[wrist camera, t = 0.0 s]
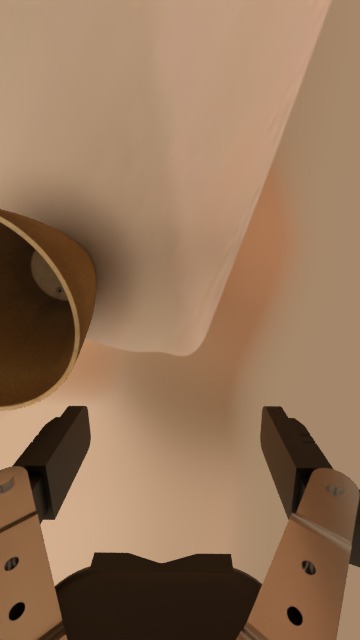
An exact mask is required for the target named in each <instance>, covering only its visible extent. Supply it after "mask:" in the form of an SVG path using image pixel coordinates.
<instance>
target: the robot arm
mask: <svg viewBox="0 0 360 640" xmlns="http://www.w3.org/2000/svg"><path fill="white" fill-rule="evenodd" d="M261 423H262V424H261V436H260V437H261V438H260V439H261V447H262V451H263V454H264V456H265V459H266V462H267V464H268V467H269V470H270V472H271V475H272V478H273V480H274V483H275V485H276V488H277V490H278V493H279V496H280V499H281V501H282V504H283V507H284V509H285V512H286V514H287V517H288V520H289V521H288V523H287V526H286V528H285V530H284V533H283V535H282V538H281V540H280V543H279V545H278V547H277V550H276V552H275V555H274V557H273V560H272V562H271V565H270V567H269V570H268V572H267V575H266V577H265V579H264V582H263V584H261V583H260V582H259V581H258V580H256V579H255V578H253V577H252V576H250V575H249V574H247V573H245V572H243V571H240V570H238V569H235V568H233V566H232V559H231V554H195V555H191V556H187V557H184V558H180V559H177V560H173V561H170V562H167V563H157V562H154V561H151V560H148V559H145V558H142V557H139V556H136V555H133V554H130V553H94V557H93V560H92V564H91V566H90V567H87V568H84V569H82V570H79V571H77V572H75V573H74V574H72V575H70V576H68V577H67V578H65V579H64V580H62V581H61V582H59V583H58V584H57V585H56V586H55V587H54V582H53V579H52V574H51V569H50V565H49V561H48V557H47V553H46V548H45V544H44V539H43V535H42V531H41V526H40V524H41V522H42V520H46V519H47V520H48V519H49V520H55V517H56V516H57V514H58V512H59V510H60V507H61V505H62V503H63V501H64V499H65V497H66V495H67V493H68V491H69V489H70V487H71V484H72V482H73V480H74V478H75V476H76V474H77V472H78V470H79V468H80V466H81V464H82V462H83V460H84V458H85V456H86V454H87V451H88V449H89V446H90V439H91V435H90V425H89V417H88V409H87V407H86V406H68V407H67V409H66V410H65V412H64V413H63V414H62V415H61V417H56V418H54V419H53V420H51V421H50V422H48V423H47V424H46V425H45V426H44V427H43V428H42V430H41V431H40V432H39V434H38V435H37V436H36V437H35V438H34V440H33V442H31V443H30V445H29V446H28V447H27V448H26V450H25V451H24V452H23V454H22V455H21V456H20V457H19V459H18V460H17V461H16V462H15V464H14V465H13V466H12V467H8V468H5V469H2V470H0V640H336V638H337V632H338V626H339V620H340V614H341V608H342V602H343V596H344V590H345V584H346V578H347V572H348V566H349V564H352V565H355V566H358V567H360V490H359V489H358V487H357V486H356V484H355V483H354V482H353V481H352V480H351V479H350V478H349V477H347V476H346V475H344V474H343V473H341V472H339V471H336V470H334V469H333V468H332V466H331V465H330V464H329V462H328V460H327V459H326V457H325V456H324V454H323V453H322V452H321V450H320V449H319V447H318V446H317V444H315V441H314V440H313V438H312V437H311V436H310V434H309V432H308V431H307V429H306V428H305V426H304V425H303V424H301V423H300V422H299V421H297V420H296V419H295V418H288V417H287V416H286V413H285V412H284V410H283V408H282V407H280V406H278V407H273V406H270V407H269V406H268V407H267V406H265V407H263V410H262V422H261Z"/></svg>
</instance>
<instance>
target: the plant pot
mask: <svg viewBox="0 0 360 640" xmlns="http://www.w3.org/2000/svg"><path fill="white" fill-rule="evenodd" d="M60 289H62V291H61V292H60ZM95 298H96V274H95V269H94V266H93V263H92V261H91V259H90V257H89V255H88V254H87V253H86V251H85V250H84V249H83V248H82V247H81V246H80V245H79V244H78V243H76V242H75V241H74V240H72V239H71V238H69V237H68V236H66V235H65V234H63V233H61V232H60V231H58V230H56V229H54V228H52V227H50V226H47V225H45V224H43V223H40V222H38V221H35V220H33V219H30V218H27V217H24V216H21V215H18V214H15V213H12V212H8V211H4V210H1V209H0V411H3V410H13V409H18V408H22V407H26V406H29V405H31V404H34V403H36V402H39V401H41V400H42V399H44V398H46V397H48V396H49V395H51V394H52V393H53V392H54V391H56V390H57V389H58V388H59V387H60V386H61V385H62V384H63V382H64V381H65V380H66V379H67V377H68V376H69V374H70V372H71V371H72V369H73V367H74V364H75V362H76V360H77V358H78V355H79V353H80V350H81V348H82V345H83V342H84V340H85V337H86V334H87V331H88V328H89V325H90V322H91V318H92V315H93V310H94V305H95Z"/></svg>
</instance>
